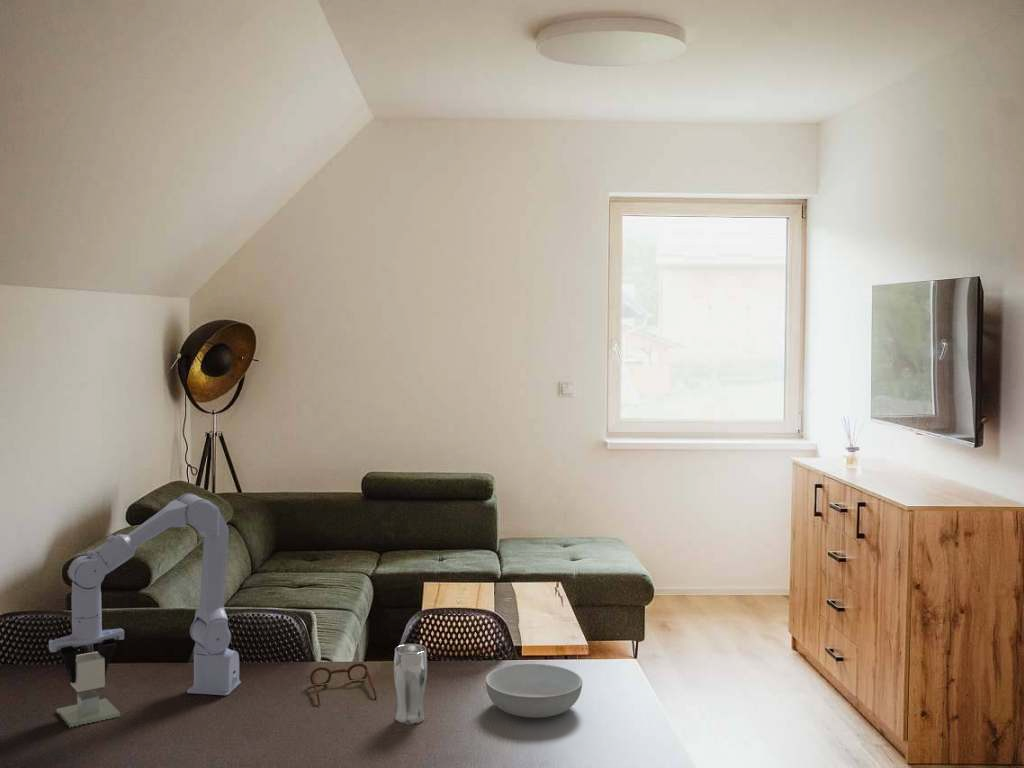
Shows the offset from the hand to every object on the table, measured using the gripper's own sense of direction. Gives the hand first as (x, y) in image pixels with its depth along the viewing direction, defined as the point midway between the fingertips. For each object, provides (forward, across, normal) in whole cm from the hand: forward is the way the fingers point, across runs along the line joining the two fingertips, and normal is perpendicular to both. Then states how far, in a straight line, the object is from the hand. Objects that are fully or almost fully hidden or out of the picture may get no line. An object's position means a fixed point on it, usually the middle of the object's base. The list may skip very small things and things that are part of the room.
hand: (87, 678), depth 212 cm
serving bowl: (+8, -77, +53) cm, 94 cm away
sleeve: (+2, 0, 0) cm, 2 cm away
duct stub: (+8, 0, 0) cm, 8 cm away
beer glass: (+8, -53, +42) cm, 68 cm away
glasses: (+8, -49, +21) cm, 54 cm away
